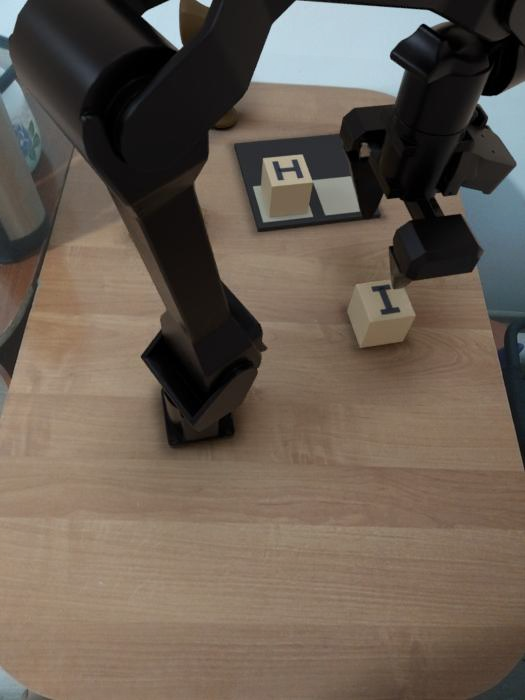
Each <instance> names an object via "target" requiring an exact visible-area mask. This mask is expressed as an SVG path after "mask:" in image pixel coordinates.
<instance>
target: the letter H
mask: <svg viewBox="0 0 525 700" xmlns="http://www.w3.org/2000/svg"><path fill="white" fill-rule="evenodd" d="M312 184H313V181H312V179H311V176H310V173H309V171H308V168H307V165H306V162H305V160H304V157H303V155H292V156H281V157H271V158H263V166H262V179H261V192H262V195H263V199H264V202H265V205H266V209H267V212H268V215H269V217H276V216H285V215H294V214H303V213H308V207H309V202H310V196H311V190H312Z"/></svg>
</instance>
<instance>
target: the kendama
mask: <svg viewBox="0 0 525 700" xmlns="http://www.w3.org/2000/svg"><path fill="white" fill-rule="evenodd" d="M209 8H210V6H207V5H205V4H203V3H201V2H200V1H199V0H179V4H178V28H179V37H180V42H181V45H182V47H183V46H184V45H185V44H186V43H187V42H188V41H189V40H190V39H191V38H192V37H193V36H194V35H195V34H196V33H197V32H198V31H199V30H200V28H201V27H202V25H203V23H204V20H205V18H206V15H207V13H208V10H209ZM238 118H239V114H238V111H237V108H235V106H233V107H232V108H231V109H230V110H229V111H228V112H227V113H226V114H225V115H224V116H223V117H222V118H221V119H220V120H219V121H218V122H217V123H216V124H215V125H214V126H213V127H212V128H217V129H225V128H229V127H231V126H233V125H234V124H236V123H237V120H238Z"/></svg>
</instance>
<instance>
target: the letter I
mask: <svg viewBox="0 0 525 700" xmlns="http://www.w3.org/2000/svg"><path fill="white" fill-rule="evenodd" d="M353 289H354V290H353V292H352V295H351V298H350V301H349V305H348V308H347V310H346V311H347V315H348V318H349V321H350V323H351V326H352V329H353V332H354V335H355V337H356V340H357V343H358V346H359V349H363V348H370V347H375V346H376V347H377V346H383V345H388V344H396V343H401V342H404V340H405V338H406V336H407V334H408V333H409V330H410V328H411V326H412V324H413V323H414V321H415V319H416V316H417V314H416V312H415V310H414V307H413V305H412V303H411V301H410V298H409V296H408V294H407V291H406V289H405V287H404V288H402V289H395V290H394V289H393V288H392V283H391V278H390V279H384V280H376V281H368V282H362V283H356V284H355V286H354V288H353Z"/></svg>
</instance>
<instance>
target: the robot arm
mask: <svg viewBox="0 0 525 700" xmlns="http://www.w3.org/2000/svg"><path fill="white" fill-rule="evenodd" d="M169 1H170V0H26V2H24V5H23V6H22V7H21V9H20V10H19V12H18V14H17V16H16V20H15V24H14V27H13V30H12V33H10V35H9V36H8V39H7V43H8V54H9V58H10V60H11V63H12V67H13V69H14V72H15V74H16V76H17V78H18V80H19V81H20V83H21V84H22V85H23V86H24V88H25V89H26V91H28V93H29V94H30V95H31V96H32V97H33V98H34V100H35V101H36V102H37V104H38V105H39V106H40V107H41V108H42V110H43V111H44V112H45V114H47V116H48V118H50V120H51V121H52V122H53V123H54V124H55V126H56V127H57V128H58V130H59V131H60V132H61V133H62V134H63V135H64V136H65V138H66V139H67V140H68V142H70V144H71V145H72V146H73V147H74V148H75V150H76V151H77V152H78V153H79V155H80V156H81V157H82V158H83V159H84V161H85V162H86V163H87V164H88V165H89V166H90V168H91V169H92V170H93V172H94V173H95V174H96V175H97V177H98V178H99V179H100V180H101V181H102V183H103V184H104V185H105V187H106V189H107V191H108V193H109V195H110V197H111V199H112V202H113V203H114V205H115V208H116V210H117V211H118V214H119V216H120V217H121V221H122V222H123V224H124V226H125V228H126V230H127V232H128V234H129V236H130V238H131V240H132V242H133V245H134V246H135V248H136V251H137V253H138V255H139V256H140V258H141V260H142V262H143V264H144V267H145V269H146V271H147V273H148V275H149V276H150V278H151V281H152V284H153V285H154V287H155V290H156V291H157V293H158V295H159V297H160V299H161V302H162V304H163V305H164V307H165V311H164V312H163V313H162V314H161V315H160V316H159V317H160V318H159V322H160V323H159V324H160V329H159V331H158V332H157V334H156V335H155V336H154V338H153V339H152V340H151V341H150V342H149V344H148V345H147V347H146V348H145V350H144V351H143V352H142V353H141V355H140V359H141V361H142V362H143V363H144V365H145V366H146V367H147V368H148V370H149V371H150V372H151V374H152V375H153V376H154V378H155V379H156V381H157V382H158V383H159V384H160V386H161V387H162V388H161V389H160V394H161V395H160V396H161V401H162V409H163V416H164V424H165V432H166V439H167V445H168V446H169V448H172V449H174V448H175V449H176V448H180V447H186V446H193V445H197V444H198V445H199V444H202V443H203V444H204V443H209V442H215V441H219V440H220V441H221V440H226V439H231V438H233V437H235V435H236V429H235V425H234V420H233V414H232V412H233V411H234V410H236V409H238V408H239V407H241V405H243V404H244V402H245V400H246V398H247V396H248V394H249V392H250V391H251V388H252V386H253V384H254V383H255V380H256V378H257V377H258V374H259V370H258V369H260V366H261V364H262V360H263V359H262V358H263V354H262V353H263V352H265V351H267V350H268V349H269V347H268V346H267V345H266V344H265V343H264V342H263V337H264V331H263V328H262V324H261V323H260V322H259V321H258V320H257V318H256V317H255V316H254V315H253V314H252V313H251V311H249V309H248V308H247V307H246V306H245V305H244V304H243V303H242V302H241V301H240V300H239V298H238V297H237V296H236V295H235V293H233V292H232V290H231V289H230V288H229V287H228V286H227V285H226V284H225V283H224V281H223V280H222V279H221V276H220V272H219V269H218V265H217V261H216V258H215V255H214V251H213V248H212V243H211V241H210V237H209V233H208V229H207V226H206V223H205V218H204V219H203V215H204V214H203V215H202V212H201V208H202V207H201V208H200V206H201V205H199V204H200V202H199V198H198V195H197V192H196V185H195V182H196V180H197V179H198V177H199V175H200V173H201V172H202V170H204V169H203V168H204V167H205V165H206V163H207V162H208V159H209V155H210V133H209V132H210V131H211V129H213V128H214V127H213V126H214V125H215V124H216V123H217V122H218V121H219V120H220V119H221V118H222V117H223V116H224V115H225V114H226V113H227V112H228V111H229V110H230V109H231V108H232V107H235V106H236V105H237V103H239V102H240V101H241V100H242V99H243V98H244V96H245V95H246V93H247V92H248V90H249V87H250V84H251V82H252V79H253V77H254V74H255V71H256V68H257V67H258V63H259V61H260V58H261V55H262V53H263V51H264V47H265V45H266V42H267V40H268V37H269V34H270V32H271V28H272V26H273V25H274V23H275V22H276V21H277V20H278V19H279V18H280V17H281V16H282V15H283V14H285V13H286V11H287V10H288V9H289V8H290V7H291V6H292V5H293V4H294V3H295V2H296V1H298V2H313V3H326V4H339V5H352V6H364V7H365V6H366V7H379V8H390V9H391V8H393V9H404V10H406V9H407V10H419V11H420V10H421V11H429V12H431V13H433V14H435V15H438V16H439V17H441V18H443V19H444V20H446V21H443V22H440V23H436V24H435V25H433V26H429V25H427V24H426V23H421V24H419V26H418V27H417V28H416V30H415V31H414V32H413V33H412V34H410V35H408V36H407V37H405V38H403V39H401V40H400V41H399V42H398V43H396V45H395V46H394V47H393V48H392V50H391V51H390V53H389V58H390V60H391V61H392V62H394V63H395V64H397V65H398V66H399V67H401V68H402V69H404V71H403V75H402V78H401V82H400V84H399V87H398V92H397V94H396V97H395V101H394V103H391V104H390V103H389V104H380V105H370V106H359V107H358V106H357V107H353V108H352V109H350V111H348V113H346V114H345V115H344V116H343V117H342V118H341V125H340V128H339V133H338V134H339V135H340V137H341V139H342V141H343V144H344V145H343V150H344V153H345V156H346V159H347V163H348V167H349V170H350V174H351V178H352V182H353V186H354V189H355V193H356V197H357V201H358V205H359V210H360V214H361V217H362V219H361V220H371V219H374V218H373V216H374V214H375V212H376V210H377V208H379V207H380V204H381V202H382V199H383V197H384V196H385V198H386V200H394V199H395V200H396V199H399V200H400V201H402V202H403V204H404V206H405V208H406V209H407V211H408V213H409V216H410V218H411V219H410V220H408V221H406V222H405V223H404V224H402V225H401V226H400V227H398V228H397V229H395V232H394V234H393V236H392V245H389V246H388V259H389V272H390V279H391V283H392V288H393V289H394V290H395V289H402V288H404V289H405V288H406V287H407V286H408V285H410V284H411V283H412V282H417V281H425V280H430V279H438V278H445V277H451V276H457V275H464V274H471V273H473V272H474V270H475V268H476V266H477V265H478V263H479V261H480V260H481V257H482V256H483V254H484V253H485V250H484V248H483V246H482V244H481V243H480V241H479V239H478V238H477V236H476V234H475V231H473V229H472V227H471V225H470V223H469V222H468V220H467V219H466V218H465V216H464V215H462V213H457V214H456V213H454V214H447V215H445V214H444V211H443V209H442V208H441V206H440V204H439V202H438V200H437V199H436V194H441V195H442V197H452V196H453V197H454V196H457V195H458V193H459V192H460V191H459V190H460V189H461V187H462V188H464V189H469V190H474V191H479V192H481V193H482V195H492V193H493V192H494V191H495V190H496V189H497V188H498V187H499V185H501V183H502V182H503V181H504V180H505V179H506V178H507V177H508V176H509V175H510V174H511V173H512V172H513V170H514V169H516V167H517V160H515V157H514V156H513V155H512V154H511V152H510V151H509V149H508V148H507V146H506V145H505V144H504V142H503V140H502V139H501V137H500V136H499V135H498V134H497V133H495V132H494V131H493V129H492V128H491V126H490V125H488V121H489V116H488V114H487V112H486V111H485V110H484V108H483V107H482V106H481V104H480V103H479V100H480V98H481V96H482V97H497V96H498V95H499V96H500V95H501V94H503V93H504V92H506V91H509V90H511V89H513V88H514V87H516V86H519V85H520V84H522V83H525V0H211V3H210V5H209V7H210V8H209V10H208V13H207V15H206V18H205V20H204V23H203V25H202V27H201V28H200V30H199V31H198V32H197V33H196V34H195V35H194V36H193V37H192V38H191V39H190V40H189V41H188V42H187V43H186V44H185V45H184V46H183V45H182V47H181V48H178V47H177V46H175V45H174V44H173V43H172V42H171V41H170V40H169V39H167V38H166V37H165V36H164V35H163V34H162V33H161V32H160V31H159V30H157V29H156V28H155V27H154V26H153V25H151V23H149V22H148V21H147V20H146V19H145V18H144V17H143V15H144V14H145V13H146V12H148V11H149V10H151V9H152V10H153V9H154V8H156V7H159V6H161V5H163V4H165V3H167V2H169ZM229 431H230V432H231V433H228V432H229ZM172 442H174V443H172Z"/></svg>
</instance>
